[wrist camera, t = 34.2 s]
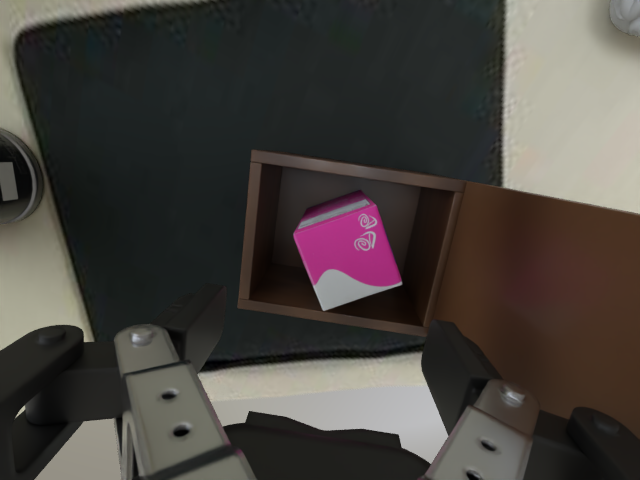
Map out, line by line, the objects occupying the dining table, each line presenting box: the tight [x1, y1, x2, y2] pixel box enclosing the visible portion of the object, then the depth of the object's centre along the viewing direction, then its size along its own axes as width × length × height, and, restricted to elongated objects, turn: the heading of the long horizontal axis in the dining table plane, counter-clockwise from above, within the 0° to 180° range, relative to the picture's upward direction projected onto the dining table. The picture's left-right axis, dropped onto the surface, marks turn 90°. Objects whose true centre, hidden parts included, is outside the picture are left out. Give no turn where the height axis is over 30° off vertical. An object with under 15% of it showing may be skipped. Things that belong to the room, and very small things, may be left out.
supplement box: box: [293, 190, 402, 311], centre depth 27 cm, size 6×6×11 cm
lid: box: [433, 181, 640, 440], centre depth 16 cm, size 15×12×5 cm
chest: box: [238, 150, 467, 337], centre depth 29 cm, size 15×12×10 cm
